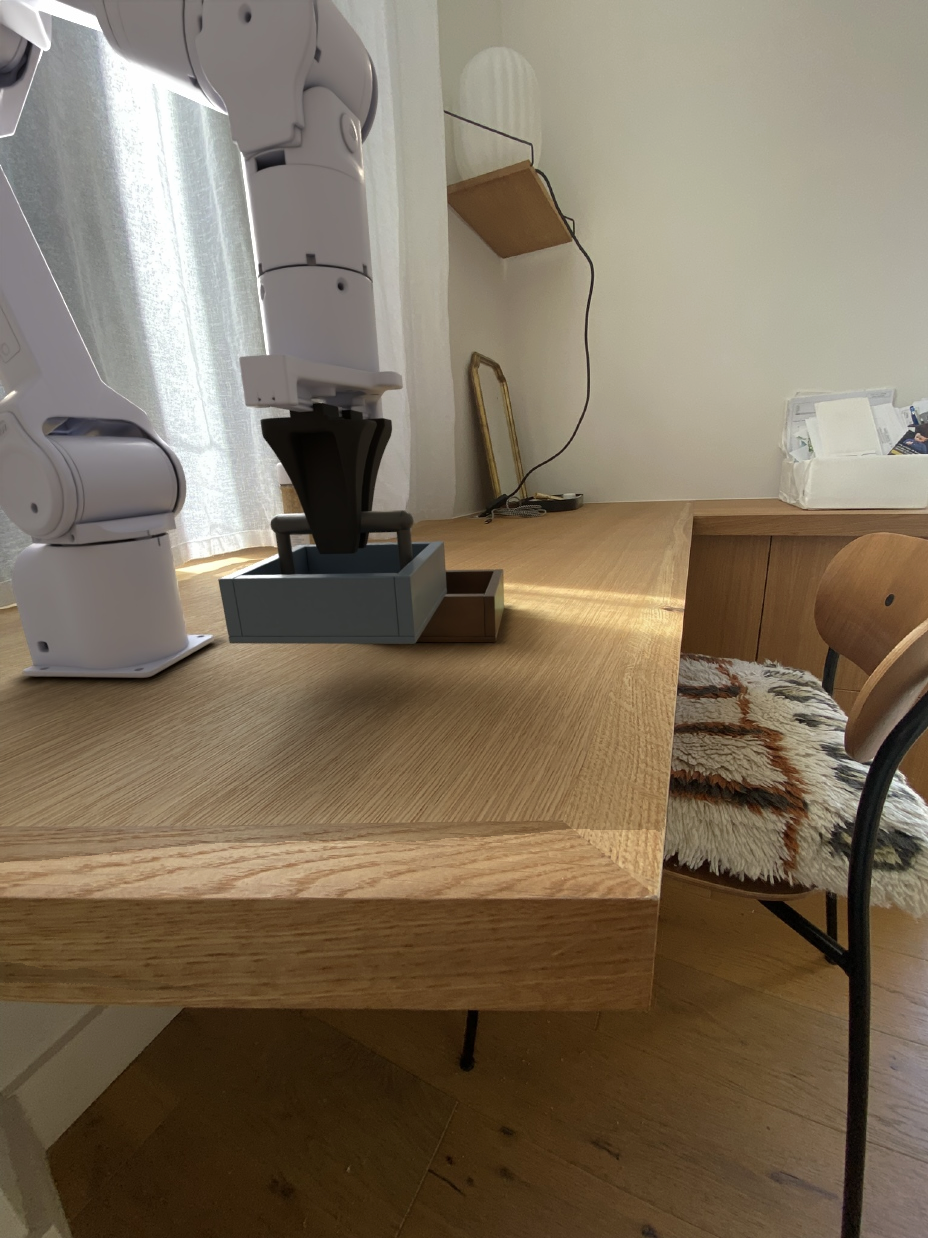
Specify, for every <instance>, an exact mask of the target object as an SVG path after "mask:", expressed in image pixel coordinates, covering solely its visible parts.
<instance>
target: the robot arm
mask: <svg viewBox="0 0 928 1238" xmlns="http://www.w3.org/2000/svg"><path fill="white" fill-rule="evenodd" d="M52 16H54V17H57V18H61V19H64V20H66V21H69V22H72V23H75V24H77V25H81V26H85V27H86V28H91V29H93V30H96V31H99V32H102V35H103V37H104V38H105V40H106V42H107V44H108V46H109V47H110V48H111V50H112V52H113V53H114V54H115V56H116V57H117V58H118V59H119V61H120V62H121V63H122V64H123V65H124V66H125V67H126V68H127V69H128V70H129V71H131V72H132V73H133V74H134V75H135V76H137V77H140V78H141V79H143V80H145V81H147V82H149V83H152V84H155V85H156V86H159V87H162V88H164V89H167V90H168V91H171V92H173V93H176V94H177V95H180V96H182V97H185V98H187V99H190V100H192V101H194V102H196V103H198V104H200V105H202V106H205V107H208V108H210V109H212V110H215V111H216V112H219V113H221V114H224V115H226V116H227V118H228V122H229V130H230V137H231V143H233V144H234V145H236V146H237V149H238V151H239V152H240V159H241V166H242V174H243V182H244V189H245V196H246V204H247V212H248V219H249V227H250V235H251V236H250V237H251V242H252V243H251V244H252V250H253V258H254V267H255V273H256V284H257V293H258V299H259V307H260V314H261V315H260V316H261V322H262V331H263V337H264V345H265V354H257V355H246V356H239V357H238V363H239V369H240V376H241V382H242V390H243V397H244V404H245V406H246V407H249V408H254V409H266V408H267V409H268V408H275V409H282V410H287V411H289V416H283V417H268V418H261V419H260V421H259V422H260V429H261V434H262V438H263V439H264V441H265V442H266V443H267V445H268V446H269V447H270V448H271V450H272V451H273V453H274V455H275V456H276V458H277V459H278V461H279V463H281V464H282V465H283V467H284V469H285V471H286V473H287V474H288V476H289V478H290V480H291V482H292V484H293V486H294V488H295V491H296V493H297V495H298V498H299V501H300V503H301V506H302V508H303V511H304V514H305V517H306V520H307V522H308V525H309V528H310V531H311V534H312V536H313V539H314V542H315V544H316V547H317V549H318V551H319V553H320V554H352V553H356V552H357V551H358V548H365V547H366V546H367V543H369V542H368V541H369V536H370V533H361V512H363V511H373V505H374V496H375V490H376V483H377V479H378V474H379V469H380V466H381V462H382V460H383V456H384V454H385V451H386V449H387V447H388V443H389V442H390V439H391V437H392V433H393V421H392V419H389V418H384V415H383V414H384V413H383V402H382V396H383V395H384V393H385V392H387V391H396V390H397V391H398V390H402V389H403V388H404V385H403V376H402V374H400V373H399V372H397V371H391V370H389V371H387V370H386V371H381V370H380V359H379V346H378V333H377V321H376V306H375V294H374V284H373V283H374V279H373V267H372V266H373V265H372V254H371V240H370V239H371V238H370V228H369V227H370V225H369V214H368V213H369V212H368V202H367V189H366V179H365V178H366V177H365V167H364V166H365V165H364V153H363V145H364V143H365V141H366V140H367V138H368V136H369V134H370V133H371V130H372V127H373V125H374V121H375V119H376V115H377V110H378V103H379V83H378V75H377V72H376V71H377V70H376V67H375V64H374V62H373V61H374V60H373V59H372V57H371V55H370V53H369V50H368V49H367V47H366V46H365V44H364V42H363V40H362V38H361V37H360V36H359V34H358V33H357V31H356V30H355V29H354V28H353V26H352V25H351V24H350V23H349V21H348V20H347V18H346V17H345V16H344V14H343V13H342V12H341V10H340V9H339V8H338V6H336V4H335V3H334V1H332V0H0V139H2V138H6V137H10V136H13V135H15V133H16V129H17V126H18V124H19V121H20V117H21V115H22V112H23V109H24V106H25V103H26V100H27V98H28V94H29V91H30V89H31V86H32V82H33V80H34V76H35V74H36V71H37V67H38V64H39V63H40V61H41V57H42V55H43V51H44V52H47V51H49V50H50V49H51V46H52V44H51V43H52V33H53V32H52V30H53V29H52V28H53V21H52ZM8 180H9V179H8V177H7V176H6V174H5V171H4V169H3V168H2V165H1V164H0V383H1V385H2V387H3V389H4V391H5V393H6V396H5V397H3V398H2V399H1V400H0V508H1V510H2V512H3V513H4V515H5V516H6V517H7V519H9V520H10V521H11V522H12V523H13V524H14V525H15V526H16V527H17V528H18V529H19V530H20V531H22V532H23V533H24V534H26V535H28V536H29V537H30V539H31V542H32V544H31V543H30V544H29V545H28V546H26V547H25V548H24V549H23V550H21V551H20V552H19V554H18V555H17V557H16V558H15V560H14V562H13V563H14V564H13V567H12V570H11V587H12V592H13V595H14V599H15V604H16V607H17V611H18V614H19V618H20V621H21V625H22V626H21V627H22V629H23V632H24V636H25V640H26V644H27V648H28V651H29V655H30V658H31V663H32V665H30V666H28V667H26V668H24V669H23V670H22V673H23V676H24V677H43V678H44V677H48V678H51V677H52V678H53V677H54V678H55V677H56V678H57V677H58V678H124V679H125V678H126V679H128V678H129V679H131V678H132V679H133V678H134V679H135V678H136V679H137V678H138V679H144V678H145V679H146V678H150V677H153V676H155V675H157V674H158V673H160V672H163V670H165V669H167V668H169V667H171V666H172V665H175V664H176V663H178V662H180V661H182V660H183V659H184V658H185V659H186V657H188V656H190V655H191V654H194V653H195V652H197V651H198V650H200V649H202V648H204V647H206V646H208V645H209V644H211V643H212V642H214V641H215V635H213V634H188V630H187V625H186V619H185V618H186V617H185V614H184V608H183V604H182V598H181V592H180V587H179V582H178V577H177V571H176V566H175V561H174V556H173V551H172V550H173V549H172V545H171V540H170V534H169V531H172V530H176V529H177V526H176V524H177V523H176V519H175V518H176V517H178V515H179V514H180V513H181V511H182V510H183V507H184V505H185V503H186V497H187V479H186V474H185V471H184V468H183V465H182V463H181V460H180V459H179V457H178V455H177V454H176V452H175V451H174V450H173V449H172V447H171V446H169V444H167V443H166V441H164V439H162V438H161V436H160V435H159V434H158V433H157V431H156V430H155V428H154V425H153V424H152V422H151V420H150V417H149V416H148V414H147V413H146V411H145V410H143V409H142V408H140V407H139V406H137V405H136V404H135V403H133V402H132V401H131V400H129V399H127V398H126V397H124V396H123V395H122V394H120V393H119V392H117V391H116V390H114V389H113V388H112V387H110V386H109V385H108V384H106V383H105V382H104V381H103V380H102V378H101V376H100V374H99V372H98V370H97V368H96V366H95V363H94V361H93V359H92V357H91V355H90V353H89V350H88V348H87V346H86V344H85V342H84V340H83V338H82V335H81V334H80V331H79V329H78V327H77V325H76V323H75V321H74V318H73V316H72V314H71V312H70V310H69V308H68V306H67V304H66V302H65V299H64V297H63V295H62V293H61V291H60V288H59V287H58V284H57V282H56V280H55V278H54V276H53V274H52V272H51V269H50V268H49V266H48V263H47V261H46V258H45V257H44V255H43V252H42V250H41V247H40V246H39V244H38V242H37V239H36V238H35V236H34V233H33V231H32V229H31V227H30V225H29V222H28V221H27V220H28V219H27V218H26V216H25V214H24V212H23V210H22V208H21V206H20V203H19V201H18V199H17V197H16V195H15V192H14V191H13V188H12V186H11V184H10V182H9V181H8Z"/></svg>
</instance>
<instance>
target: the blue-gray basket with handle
mask: <svg viewBox="0 0 928 1238" xmlns="http://www.w3.org/2000/svg"><path fill="white" fill-rule="evenodd" d="M269 525H270V528H271V529H270V530H272V532H273V533H274V534H275V541H276V548H277V553H276V554H274V555H271V556H269V557H267V558H263V559H262V560H260V561H257V562H255V563H252V564H250V565H247V566H246V567H244V568H241V569H239V570H236V571H234V572H231V573H229V574H227V575H225V576H222V577H220V578H218V587H219V592H220V597H221V603H222V609H223V613H224V619H225V624H226V630H227V636H228V643H229V644H252V645H253V644H254V645H255V644H259V645H260V644H261V645H262V644H264V645H265V644H266V645H267V644H269V645H270V644H271V645H273V644H274V645H275V644H277V645H278V644H283V645H285V644H287V645H288V644H289V645H290V644H291V645H294V644H295V645H297V644H298V645H299V644H302V645H303V644H304V645H305V644H306V645H310V644H315V645H316V644H318V645H320V644H321V645H323V644H324V645H329V644H331V645H337V644H338V645H348V644H349V645H415V644H416V643H417V642H416V641H417V640H418V638H419V637H420V635H421V633H422V632H423V630H424V629H425V627H426V625H427V624H428V622H429V621H430V619H431V617H432V616H433V614H434V613H435V611H436V609H437V608H438V606H439V605H440V603H441V601H442V600H443V598H444V596H445V595H446V593H447V588H446V570H447V569H446V553H445V542H444V540H439V541H413V540H412V528H413V526H414V517H413V515H412V514H411V512H409V511H407V510H404V509H400V510H372V511H363V512H361V533H369V534H378V533H381V534H382V533H396V541H394V542H393V541H392V542H391V541H390V542H367V546H366V547H365V548H358V551H357V552H356V553H352V554H320V553H319V551H318V549H317V547H316V544H310V545H309V544H305V545H297V546H295V547H292V545H291V538H290V535H307V534H311V531H310V528H309V525H308V522H307V520H306V517H305V514H304V513H300V514H284V513H279V514H276V515H273V517H272V518H271V520H270V523H269Z"/></svg>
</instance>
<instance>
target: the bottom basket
mask: <svg viewBox="0 0 928 1238" xmlns="http://www.w3.org/2000/svg"><path fill="white" fill-rule="evenodd" d="M504 581H505V580H504V569H503V568H496V569H495V568H493V569H491V568H489V569H483V568H482V569H446V588H447V593H446V595H445V596H444V598H443V600H442V601H441V603H440V605H439V606H438V608H437V609H436V611H435V613H434V614H433V616H432V617H431V619H430V621H429V622H428V624H427V625H426V627H425V629H424V630H423V632H422V633H421V635H420V637H419V638H418V640H417V641H416V643H496V642H497V638H498V636H499V635H498V634H499V630H500V626H501V622H502V618H503V614H504V609H505V582H504Z"/></svg>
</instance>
